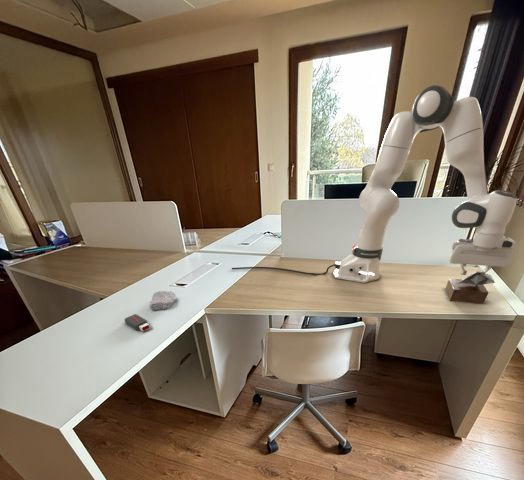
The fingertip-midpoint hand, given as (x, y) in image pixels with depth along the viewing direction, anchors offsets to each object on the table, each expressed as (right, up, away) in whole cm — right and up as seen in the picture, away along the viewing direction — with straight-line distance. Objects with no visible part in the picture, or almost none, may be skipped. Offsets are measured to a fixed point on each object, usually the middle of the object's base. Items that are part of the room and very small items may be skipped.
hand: (472, 275), depth 115 cm
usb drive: (-135, -21, -3) cm, 136 cm away
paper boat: (+4, -4, +1) cm, 6 cm away
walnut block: (0, -7, +6) cm, 9 cm away
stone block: (-129, -10, +12) cm, 130 cm away
